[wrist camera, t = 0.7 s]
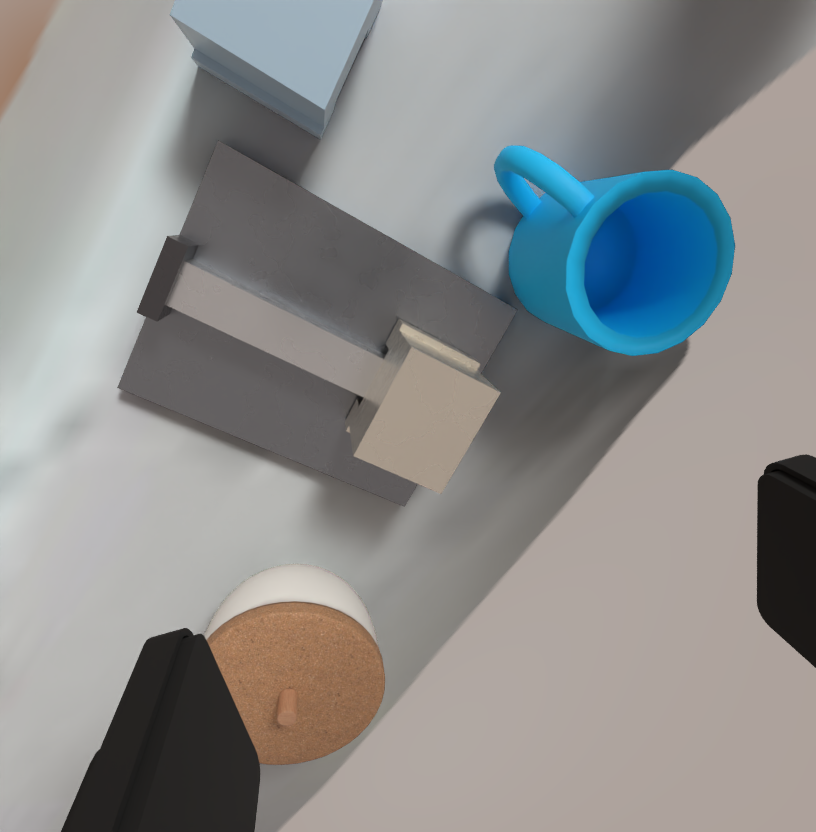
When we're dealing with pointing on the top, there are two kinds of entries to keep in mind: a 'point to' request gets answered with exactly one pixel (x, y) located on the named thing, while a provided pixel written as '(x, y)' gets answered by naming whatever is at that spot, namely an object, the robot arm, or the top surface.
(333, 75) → the block
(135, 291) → the top surface
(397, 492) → the rail plate
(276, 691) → the lidded jar
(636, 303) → the mug
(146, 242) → the top surface
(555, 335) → the top surface
